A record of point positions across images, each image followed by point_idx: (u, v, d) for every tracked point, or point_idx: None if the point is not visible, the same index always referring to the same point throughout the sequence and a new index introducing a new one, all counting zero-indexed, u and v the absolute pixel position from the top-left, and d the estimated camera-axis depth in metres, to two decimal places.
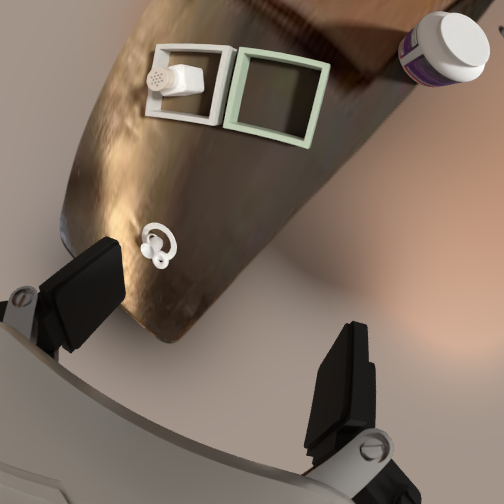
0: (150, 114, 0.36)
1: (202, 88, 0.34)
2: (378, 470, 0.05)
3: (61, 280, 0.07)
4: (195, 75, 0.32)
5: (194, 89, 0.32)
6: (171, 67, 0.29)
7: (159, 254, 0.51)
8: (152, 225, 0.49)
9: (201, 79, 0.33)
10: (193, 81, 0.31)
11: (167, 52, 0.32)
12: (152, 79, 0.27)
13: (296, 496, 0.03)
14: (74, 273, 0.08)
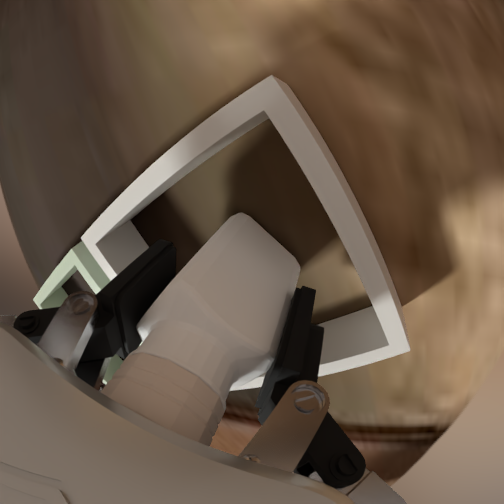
0: (247, 100, 0.07)
1: None
2: (321, 420, 0.06)
3: (124, 284, 0.08)
4: None
5: None
6: None
7: None
8: None
9: None
10: None
11: None
12: None
13: (296, 496, 0.03)
14: (136, 277, 0.09)
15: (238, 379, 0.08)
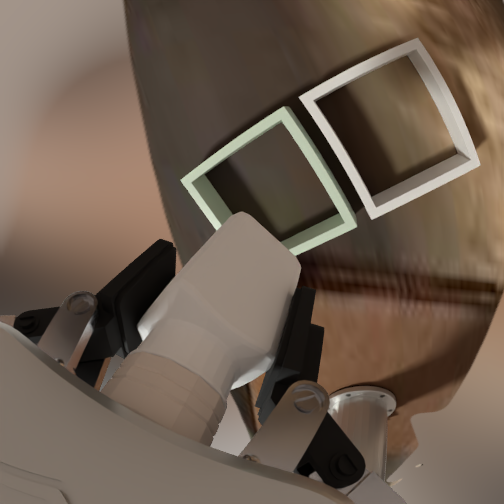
0: (410, 44, 0.14)
1: None
2: (321, 420, 0.06)
3: (124, 285, 0.08)
4: None
5: None
6: None
7: None
8: None
9: None
10: None
11: (459, 151, 0.18)
12: None
13: (296, 496, 0.03)
14: (136, 277, 0.09)
15: (239, 379, 0.08)
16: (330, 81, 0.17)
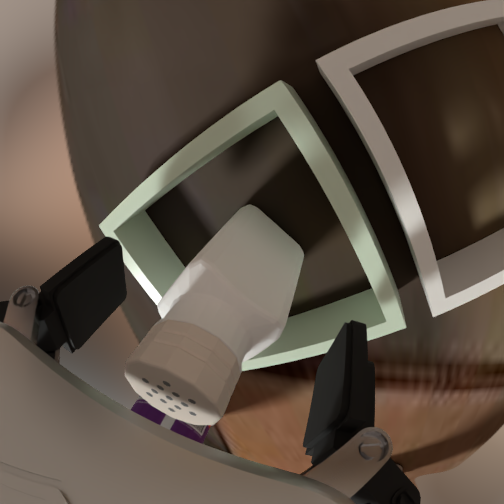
0: None
1: None
2: (377, 469, 0.05)
3: (62, 280, 0.07)
4: None
5: None
6: (242, 359, 0.10)
7: None
8: None
9: None
10: None
11: None
12: (182, 395, 0.07)
13: (296, 496, 0.03)
14: (75, 273, 0.08)
15: (252, 348, 0.09)
16: (387, 33, 0.06)
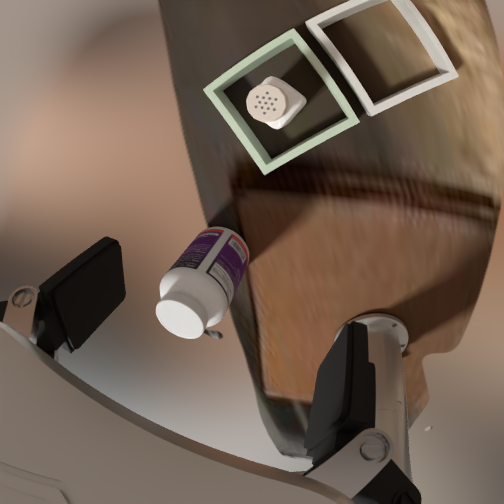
0: None
1: None
2: (378, 470, 0.05)
3: (61, 280, 0.07)
4: None
5: None
6: (286, 117, 0.22)
7: None
8: None
9: None
10: None
11: (440, 70, 0.19)
12: (272, 97, 0.19)
13: (296, 496, 0.03)
14: (74, 273, 0.08)
15: (290, 108, 0.22)
16: (330, 11, 0.18)
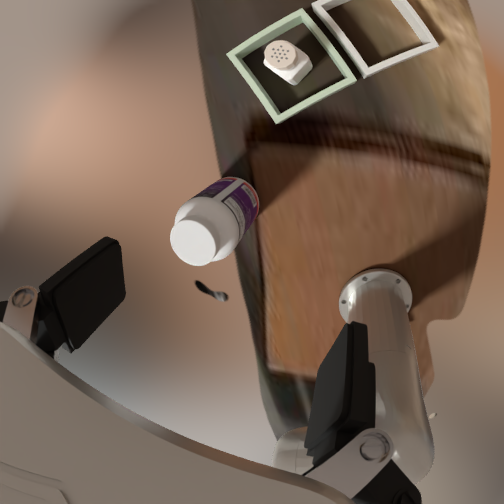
0: None
1: None
2: (378, 470, 0.05)
3: (61, 280, 0.07)
4: None
5: None
6: (296, 70, 0.25)
7: None
8: None
9: None
10: None
11: (424, 43, 0.22)
12: (285, 49, 0.22)
13: (296, 496, 0.03)
14: (74, 273, 0.08)
15: (299, 63, 0.24)
16: None
